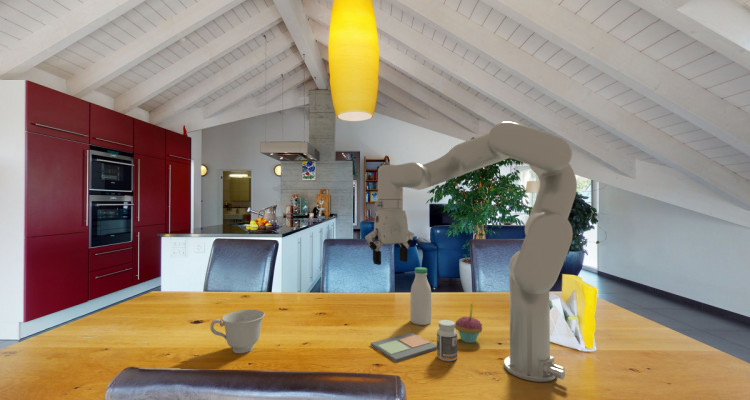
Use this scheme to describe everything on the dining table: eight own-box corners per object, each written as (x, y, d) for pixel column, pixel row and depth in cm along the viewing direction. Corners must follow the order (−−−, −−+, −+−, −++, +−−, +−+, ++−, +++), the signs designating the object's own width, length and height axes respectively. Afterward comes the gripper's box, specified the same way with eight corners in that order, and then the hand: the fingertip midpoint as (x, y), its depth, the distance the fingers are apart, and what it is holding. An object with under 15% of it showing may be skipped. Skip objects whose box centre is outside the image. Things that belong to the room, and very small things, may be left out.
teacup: (211, 346, 100) (211, 313, 100) (262, 338, 106) (263, 307, 106) (208, 363, 89) (209, 326, 89) (266, 354, 95) (266, 319, 95)
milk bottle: (432, 325, 118) (432, 270, 119) (411, 325, 119) (411, 270, 119) (429, 318, 126) (429, 266, 127) (409, 318, 126) (409, 266, 127)
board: (438, 348, 99) (438, 345, 99) (396, 362, 90) (396, 358, 90) (410, 334, 110) (410, 331, 110) (370, 345, 101) (370, 342, 101)
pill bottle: (461, 357, 94) (461, 322, 94) (450, 364, 89) (450, 327, 90) (443, 351, 98) (443, 317, 98) (432, 357, 93) (433, 322, 94)
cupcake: (464, 332, 112) (463, 297, 112) (487, 340, 106) (487, 302, 106) (450, 339, 106) (450, 302, 106) (474, 348, 100) (474, 308, 100)
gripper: (372, 205, 92) (373, 267, 91) (420, 205, 101) (420, 261, 101) (359, 206, 98) (359, 263, 98) (405, 206, 107) (405, 258, 107)
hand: (390, 262), depth 99 cm, fingers open, 9 cm apart
